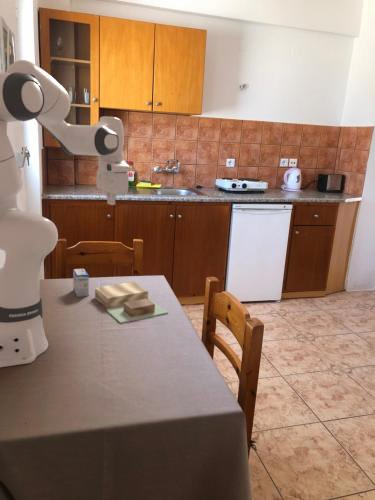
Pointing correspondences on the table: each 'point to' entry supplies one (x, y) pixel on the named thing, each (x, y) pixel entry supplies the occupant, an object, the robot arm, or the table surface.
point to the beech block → (120, 294)
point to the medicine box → (80, 282)
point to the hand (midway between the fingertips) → (111, 204)
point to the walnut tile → (139, 307)
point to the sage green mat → (124, 317)
